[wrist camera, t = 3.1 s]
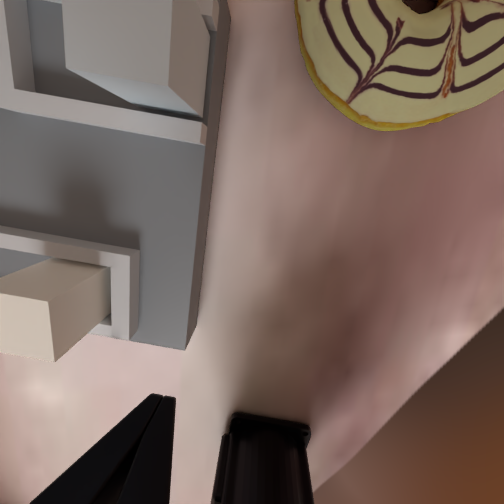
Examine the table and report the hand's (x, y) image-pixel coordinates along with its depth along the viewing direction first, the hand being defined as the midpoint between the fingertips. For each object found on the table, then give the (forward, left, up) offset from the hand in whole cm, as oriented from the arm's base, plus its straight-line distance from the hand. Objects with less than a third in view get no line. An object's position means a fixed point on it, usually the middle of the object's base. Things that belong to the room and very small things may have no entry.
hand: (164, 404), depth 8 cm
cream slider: (+7, 0, -6) cm, 9 cm away
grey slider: (+3, -11, -6) cm, 13 cm away
